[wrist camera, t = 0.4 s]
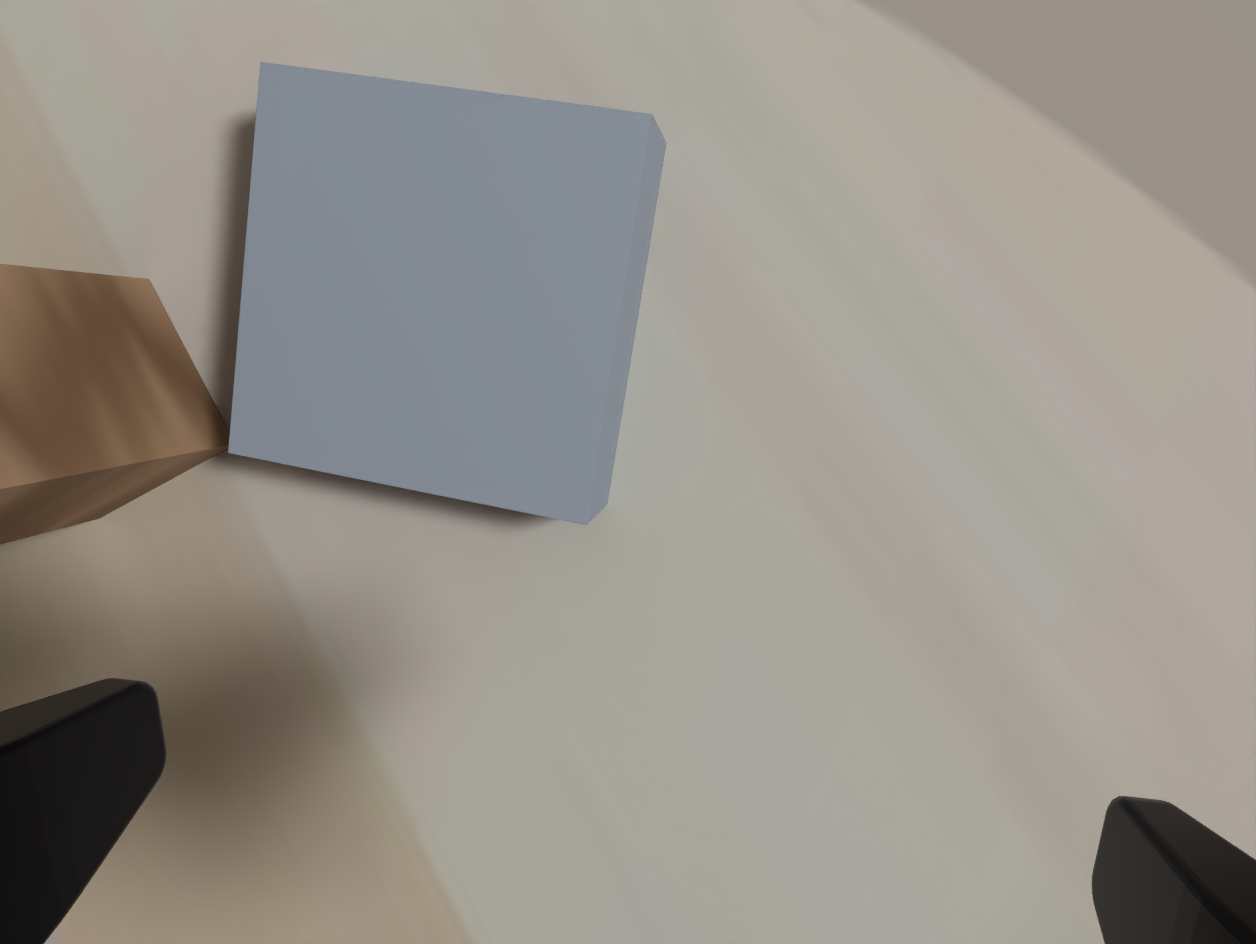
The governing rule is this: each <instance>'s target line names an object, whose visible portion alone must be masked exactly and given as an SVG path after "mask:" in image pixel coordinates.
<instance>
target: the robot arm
mask: <svg viewBox="0 0 1256 944" xmlns="http://www.w3.org/2000/svg"><path fill="white" fill-rule="evenodd" d="M165 762H166V746H165V740H164V734H163V728H162V722H161V716H160V710H159V703H158V698H157V694H156V692H155V690H154V689H153V687H152V686H151V685H149V684H148V683H146V682H142V681H134V680H125V679H117V678H110V679H104V680H101V681H97V682H94V683H91V684H88V685H84V686H81V687H78V688H75V689H72V690H68V691H65V692H62V693H59V694H55V695H52V696H49V697H46V698H43V699H39V700H36V701H33V702H30V703H27V704H23V705H20V706H17V707H14V708H10V709H7V710H4V711H1V712H0V944H44V943H45V942H46V940H47V939H48V938H49V936H50V935H51V934H52V932H53V931H54V930H55V929H56V927H57V926H58V925H59V924H60V922H61V921H62V920H63V918H64V917H65V916H66V914H67V913H68V911H69V910H70V909H71V907H72V906H73V904H74V903H75V902H76V900H77V899H78V897H79V896H80V895H81V893H82V892H83V890H84V889H85V887H86V886H87V884H88V883H89V881H90V880H91V878H92V877H93V875H94V874H95V873H96V871H97V870H98V868H99V867H100V865H101V864H102V862H103V861H104V859H105V858H106V856H107V855H108V853H109V852H110V850H111V849H112V848H113V846H114V845H115V843H116V842H117V840H118V839H119V837H120V836H121V834H122V833H123V831H124V830H125V828H126V827H127V825H128V824H129V823H130V821H131V820H132V818H133V817H134V815H135V814H136V812H137V811H138V809H139V808H140V806H141V805H142V803H143V802H144V800H145V799H146V798H147V796H148V795H149V793H150V792H151V790H152V789H153V787H154V786H155V784H156V783H157V781H158V780H159V778H160V776H161V774H162V772H163V769H164V766H165ZM1092 895H1093V902H1094V906H1095V910H1096V913H1097V917H1098V921H1099V924H1100V928H1101V932H1102V935H1103V939H1104V942H1105V944H1256V860H1255V859H1254V858H1252V857H1251V856H1249V855H1248V854H1246V853H1245V852H1243V851H1242V850H1240V849H1239V848H1237V847H1236V846H1234V845H1233V844H1231V843H1230V842H1228V841H1227V840H1225V839H1224V838H1222V837H1221V836H1219V835H1218V834H1216V833H1215V832H1213V831H1212V830H1210V829H1209V828H1207V827H1206V826H1204V825H1203V824H1201V823H1200V822H1198V821H1197V820H1195V819H1194V818H1192V817H1191V816H1189V815H1188V814H1186V813H1185V812H1183V811H1182V810H1181V809H1179V808H1178V807H1176V806H1175V805H1173V804H1171V803H1169V802H1166V801H1163V800H1155V799H1146V798H1137V797H1128V796H1118V797H1117V798H1115V799H1113V800H1112V801H1111V803H1110V804H1109V806H1108V808H1107V811H1106V815H1105V820H1104V824H1103V829H1102V833H1101V838H1100V842H1099V847H1098V851H1097V855H1096V860H1095V864H1094V869H1093V874H1092Z"/></svg>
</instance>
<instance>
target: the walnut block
mask: <svg viewBox="0 0 1256 944" xmlns="http://www.w3.org/2000/svg"><path fill="white" fill-rule="evenodd" d="M229 437H230V432H229V430H228V428H227V426H226V425H225V423H224V421H223V419H222V417H221V415H220V413H219V411H218V409H217V407H216V406H215V404H214V402H213V400H212V398H211V396H210V394H209V392H208V390H207V389H206V387H205V385H204V383H203V381H202V379H201V377H200V375H199V373H198V371H197V370H196V368H195V366H194V364H193V362H192V360H191V358H190V356H189V354H188V352H187V351H186V349H185V347H184V345H183V343H182V341H181V339H180V337H179V335H178V333H177V332H176V330H175V328H174V326H173V324H172V322H171V320H170V318H169V316H168V314H167V313H166V311H165V309H164V307H163V305H162V303H161V301H160V299H159V297H158V295H157V294H156V292H155V290H154V288H153V286H152V284H151V282H150V280H149V279H142V278H132V277H122V276H112V275H103V274H93V273H83V272H73V271H64V270H54V269H44V268H34V267H25V266H15V265H5V264H0V544H3V543H7V542H11V541H15V540H19V539H22V538H26V537H30V536H34V535H38V534H41V533H45V532H49V531H53V530H57V529H60V528H64V527H68V526H72V525H76V524H79V523H83V522H87V521H91V520H95V519H98V518H101V517H103V516H105V515H106V514H108V513H110V512H112V511H114V510H116V509H117V508H119V507H121V506H123V505H125V504H127V503H128V502H130V501H132V500H134V499H136V498H138V497H139V496H141V495H143V494H145V493H147V492H149V491H150V490H152V489H154V488H156V487H158V486H160V485H161V484H163V483H165V482H167V481H169V480H171V479H172V478H174V477H176V476H178V475H180V474H182V473H183V472H185V471H187V470H189V469H191V468H193V467H194V466H196V465H198V464H200V463H202V462H204V461H205V460H207V459H209V458H211V457H213V456H215V455H216V454H218V453H220V452H222V451H224V450H226V449H227V448H229Z"/></svg>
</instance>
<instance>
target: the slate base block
mask: <svg viewBox="0 0 1256 944" xmlns="http://www.w3.org/2000/svg"><path fill="white" fill-rule="evenodd" d="M665 148H666V141H665V139H664V137H663V135H662V133H661V131H660V129H659V127H658V125H657V123H656V121H655V119H654V117H653V115H652V114H647V113H639V112H632V111H624V110H617V109H609V108H602V107H594V106H587V105H579V104H572V103H564V102H557V101H549V100H542V99H534V98H527V97H519V96H512V95H504V94H497V93H489V92H482V91H474V90H467V89H459V88H452V87H444V86H437V85H429V84H422V83H414V82H407V81H399V80H392V79H384V78H377V77H369V76H362V75H354V74H347V73H339V72H332V71H324V70H317V69H309V68H302V67H294V66H287V65H279V64H272V63H264V62H260V74H259V86H258V98H257V110H256V122H255V134H254V146H253V158H252V170H251V182H250V195H249V207H248V219H247V231H246V243H245V255H244V267H243V279H242V291H241V303H240V316H239V328H238V340H237V352H236V364H235V376H234V388H233V400H232V412H231V424H230V437H229V449H228V453H231V454H236V455H241V456H246V457H251V458H256V459H261V460H266V461H271V462H276V463H281V464H286V465H291V466H296V467H301V468H306V469H311V470H316V471H321V472H326V473H331V474H336V475H340V476H345V477H350V478H355V479H360V480H365V481H370V482H375V483H380V484H385V485H390V486H395V487H400V488H405V489H410V490H415V491H420V492H425V493H430V494H435V495H440V496H445V497H450V498H455V499H460V500H465V501H470V502H475V503H479V504H484V505H489V506H494V507H499V508H504V509H509V510H514V511H519V512H524V513H529V514H534V515H539V516H544V517H549V518H554V519H559V520H564V521H569V522H574V523H579V524H584V525H587V524H588V523H589V522H590V521H591V520H592V519H593V518H594V517H595V516H596V515H597V514H598V513H599V512H600V511H601V510H602V509H603V508H604V507H605V506H606V505H607V502H608V496H609V490H610V484H611V478H612V472H613V466H614V460H615V454H616V448H617V441H618V435H619V429H620V423H621V417H622V411H623V405H624V399H625V393H626V386H627V380H628V374H629V368H630V362H631V356H632V350H633V344H634V338H635V331H636V325H637V319H638V313H639V307H640V301H641V295H642V289H643V283H644V277H645V270H646V264H647V258H648V252H649V246H650V240H651V234H652V228H653V222H654V215H655V209H656V203H657V197H658V191H659V185H660V179H661V173H662V167H663V161H664V154H665Z"/></svg>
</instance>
